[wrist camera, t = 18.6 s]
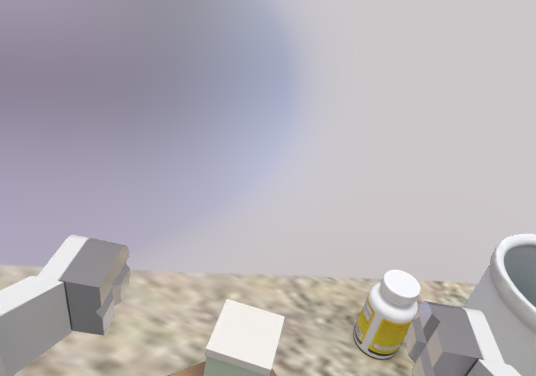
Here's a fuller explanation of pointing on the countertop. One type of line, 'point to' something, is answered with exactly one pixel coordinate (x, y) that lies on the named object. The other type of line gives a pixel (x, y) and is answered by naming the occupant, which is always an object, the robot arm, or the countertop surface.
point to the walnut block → (200, 371)
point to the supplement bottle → (387, 314)
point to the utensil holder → (511, 301)
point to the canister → (243, 341)
